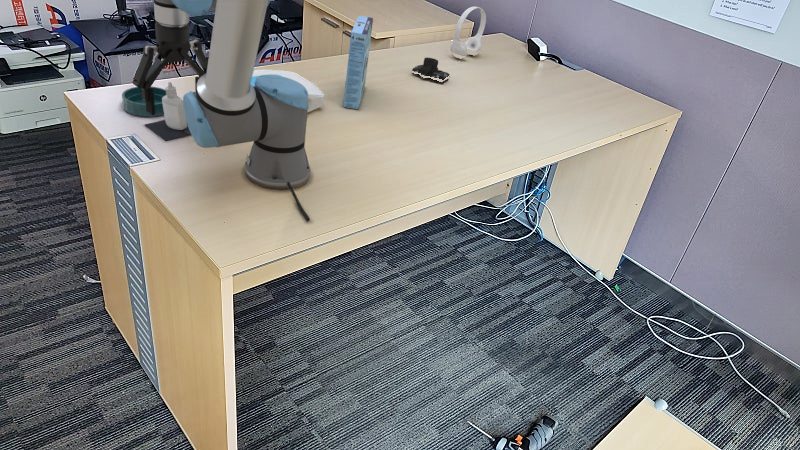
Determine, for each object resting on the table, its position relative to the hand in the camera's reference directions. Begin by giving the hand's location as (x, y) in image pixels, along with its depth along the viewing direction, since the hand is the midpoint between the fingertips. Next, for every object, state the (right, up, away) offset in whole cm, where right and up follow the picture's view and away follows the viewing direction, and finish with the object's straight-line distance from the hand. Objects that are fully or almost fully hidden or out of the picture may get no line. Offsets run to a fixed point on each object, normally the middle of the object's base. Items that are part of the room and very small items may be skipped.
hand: (176, 107), depth 151 cm
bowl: (-11, +2, +10) cm, 15 cm away
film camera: (+67, +24, +66) cm, 97 cm away
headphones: (+82, +38, +93) cm, 130 cm away
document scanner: (+17, +5, +24) cm, 30 cm away
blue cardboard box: (+42, +11, +40) cm, 59 cm away
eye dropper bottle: (-1, -4, +3) cm, 5 cm away
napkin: (-1, -5, +3) cm, 6 cm away
